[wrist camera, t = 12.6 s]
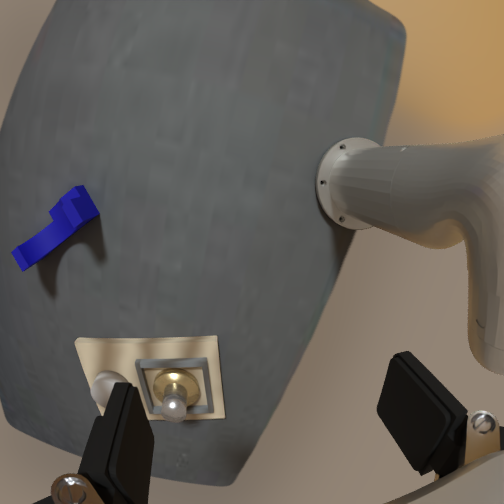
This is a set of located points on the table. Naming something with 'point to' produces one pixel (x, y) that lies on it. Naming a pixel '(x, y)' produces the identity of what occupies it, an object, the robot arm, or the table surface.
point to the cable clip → (57, 227)
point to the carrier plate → (153, 370)
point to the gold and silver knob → (175, 392)
